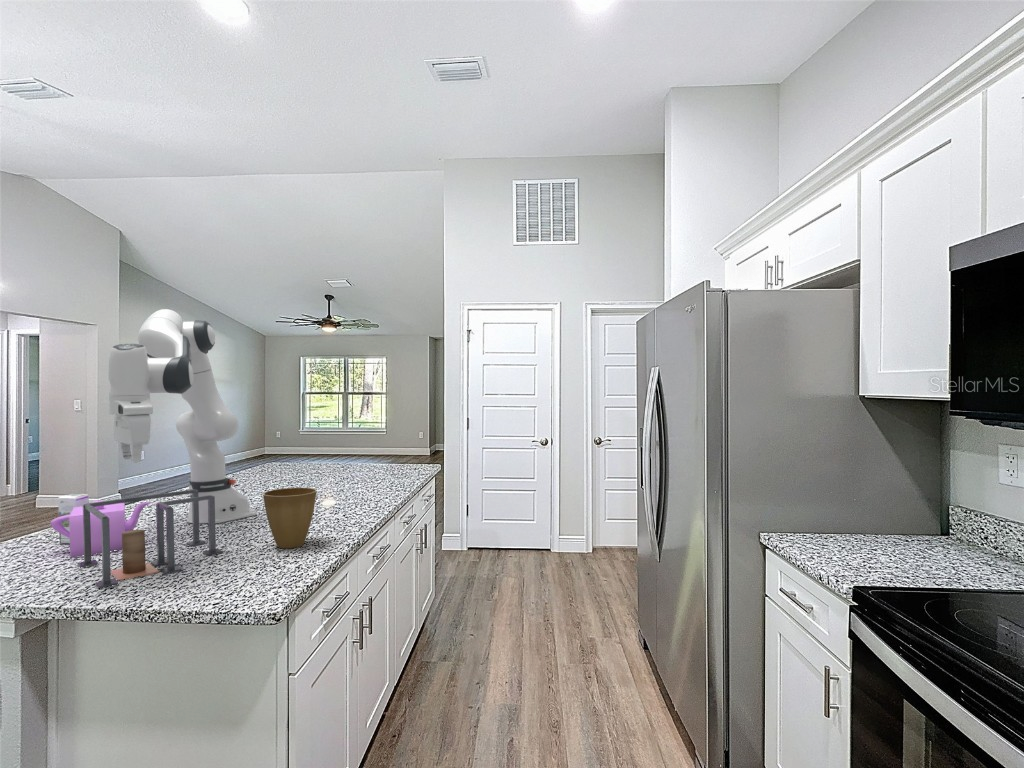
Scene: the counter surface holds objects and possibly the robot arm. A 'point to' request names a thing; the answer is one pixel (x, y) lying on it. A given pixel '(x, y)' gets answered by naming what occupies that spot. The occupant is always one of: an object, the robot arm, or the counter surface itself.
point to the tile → (121, 576)
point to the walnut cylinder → (133, 551)
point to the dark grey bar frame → (160, 532)
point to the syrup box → (69, 510)
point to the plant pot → (290, 514)
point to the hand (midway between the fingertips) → (131, 460)
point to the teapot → (97, 527)
